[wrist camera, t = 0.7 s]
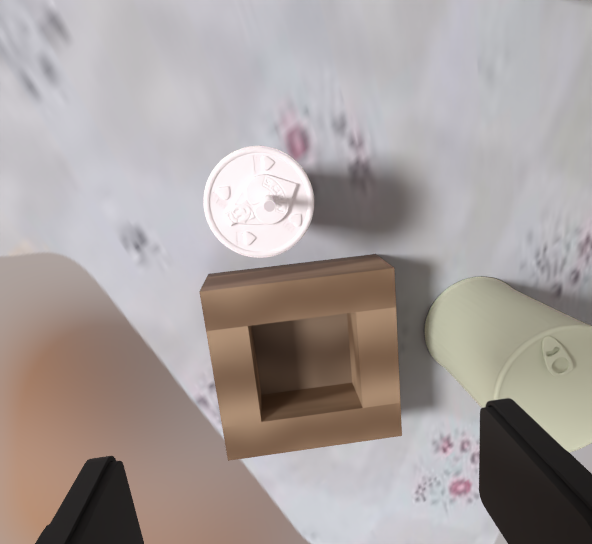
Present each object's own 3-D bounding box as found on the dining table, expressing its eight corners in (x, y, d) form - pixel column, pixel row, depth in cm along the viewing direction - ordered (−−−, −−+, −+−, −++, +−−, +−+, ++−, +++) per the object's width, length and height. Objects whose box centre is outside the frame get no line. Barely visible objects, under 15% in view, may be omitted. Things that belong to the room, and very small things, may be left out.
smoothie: (313, 210, 34) (349, 240, 20) (243, 247, 34) (231, 300, 20) (277, 136, 32) (288, 113, 18) (203, 175, 32) (161, 181, 19)
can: (505, 258, 36) (622, 301, 24) (535, 346, 38) (655, 423, 27) (408, 304, 36) (478, 369, 25) (444, 388, 39) (523, 483, 27)
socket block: (208, 274, 34) (199, 291, 29) (375, 254, 35) (394, 268, 30) (232, 422, 38) (228, 460, 33) (384, 401, 38) (401, 435, 34)
